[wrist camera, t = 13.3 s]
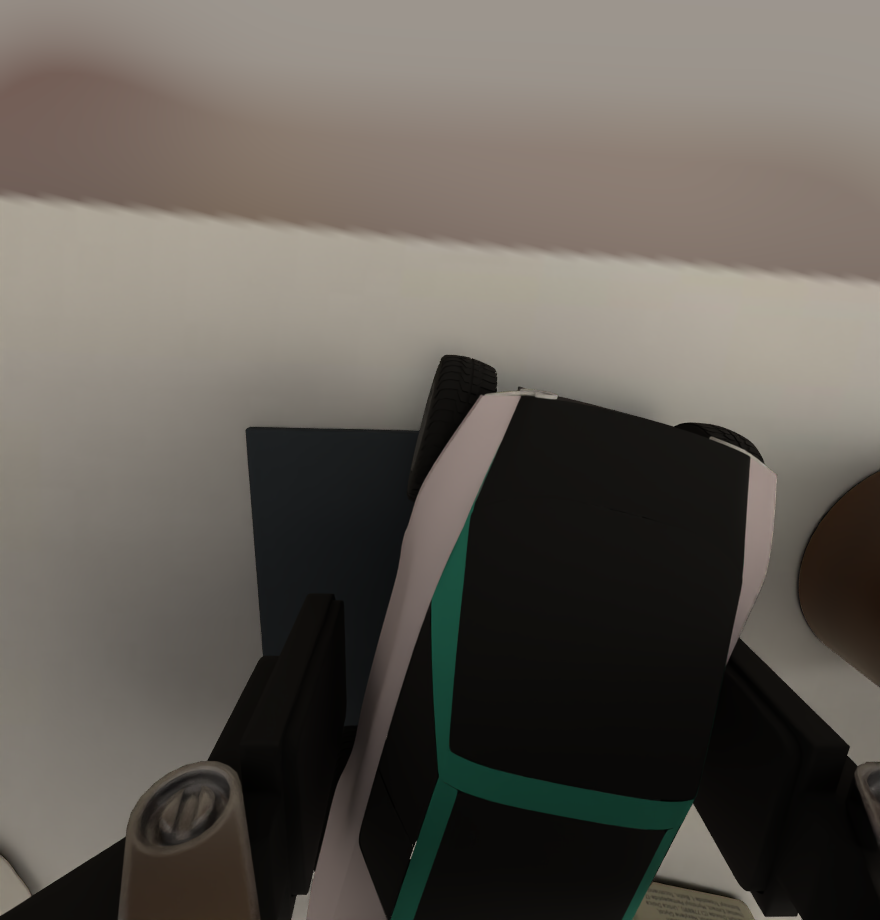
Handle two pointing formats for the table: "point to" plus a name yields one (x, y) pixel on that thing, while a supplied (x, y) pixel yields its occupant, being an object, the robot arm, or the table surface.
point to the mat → (329, 531)
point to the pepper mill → (847, 579)
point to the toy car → (543, 659)
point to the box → (688, 905)
